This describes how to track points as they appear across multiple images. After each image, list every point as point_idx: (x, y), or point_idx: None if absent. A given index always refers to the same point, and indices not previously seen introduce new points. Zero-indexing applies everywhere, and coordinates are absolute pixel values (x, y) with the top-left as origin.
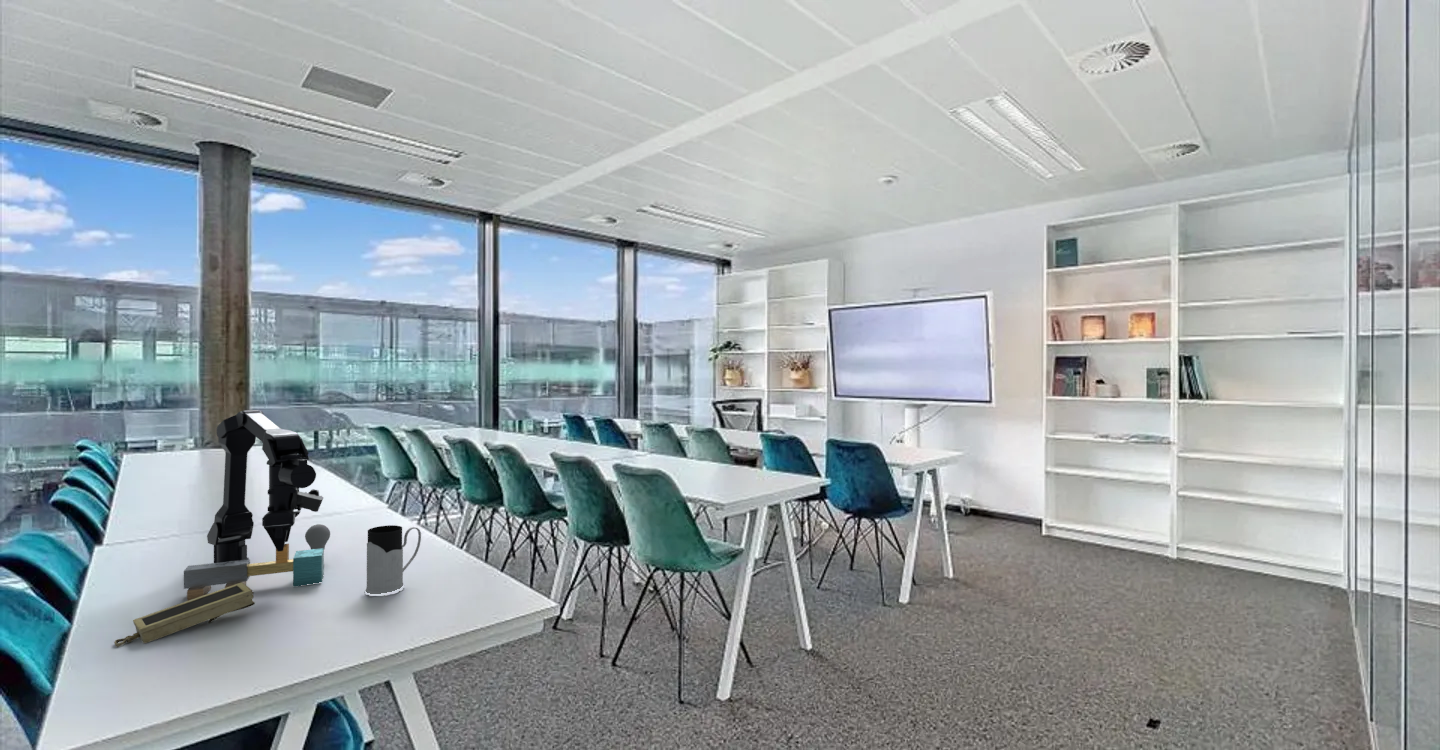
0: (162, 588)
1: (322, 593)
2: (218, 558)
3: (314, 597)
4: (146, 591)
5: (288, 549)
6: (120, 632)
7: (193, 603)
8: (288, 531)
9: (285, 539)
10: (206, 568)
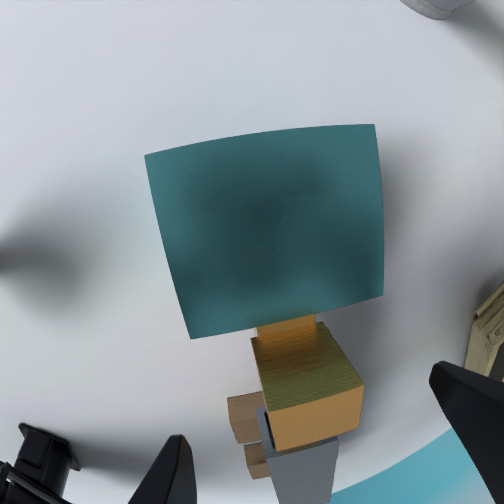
0: (217, 492)
1: (417, 122)
2: (68, 473)
3: (442, 144)
4: (230, 498)
5: (293, 377)
6: (437, 422)
7: (493, 374)
8: (172, 498)
9: (491, 391)
10: (331, 486)
